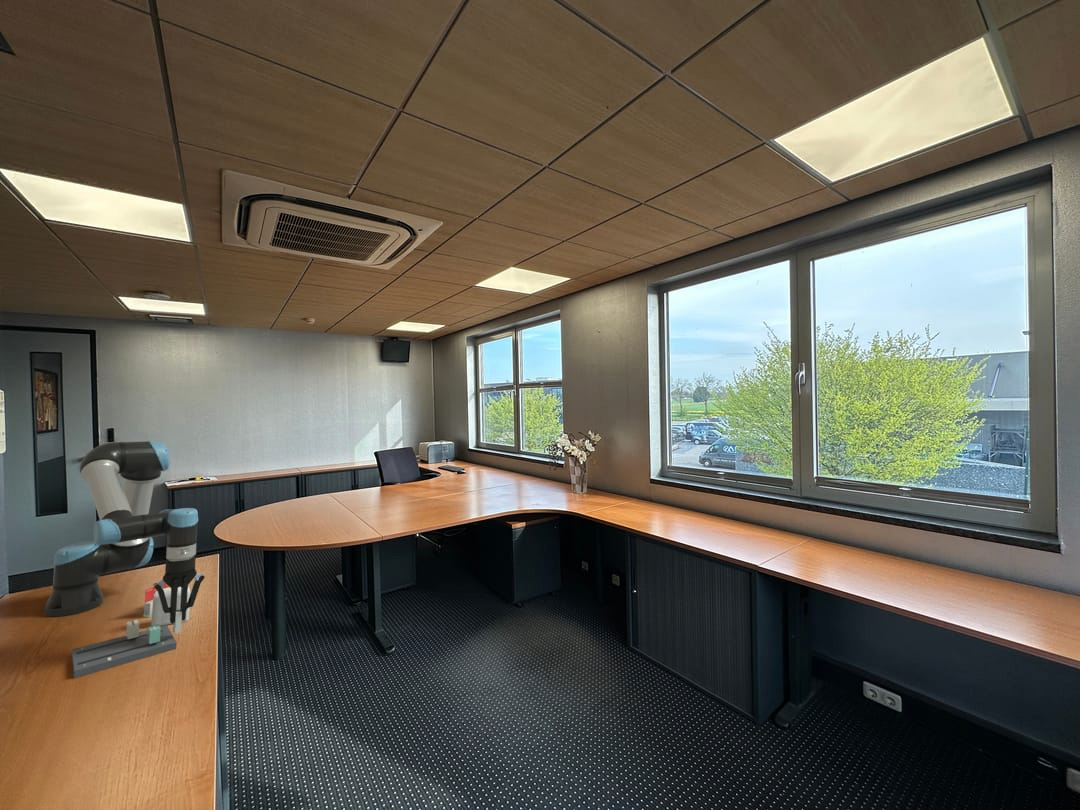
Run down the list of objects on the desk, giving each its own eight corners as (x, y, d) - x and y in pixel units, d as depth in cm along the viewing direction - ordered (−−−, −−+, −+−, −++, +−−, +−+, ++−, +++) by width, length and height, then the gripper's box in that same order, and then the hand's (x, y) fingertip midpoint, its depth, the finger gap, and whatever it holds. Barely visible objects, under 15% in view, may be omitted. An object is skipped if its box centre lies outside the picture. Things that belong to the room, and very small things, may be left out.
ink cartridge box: (175, 604, 168) (177, 579, 168) (149, 618, 157) (151, 590, 157) (169, 604, 168) (171, 578, 168) (142, 617, 157) (144, 590, 157)
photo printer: (189, 616, 159) (191, 582, 159) (188, 621, 155) (190, 586, 156) (152, 623, 153) (154, 587, 153) (150, 628, 150) (152, 592, 150)
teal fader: (147, 641, 137) (147, 626, 137) (157, 638, 139) (158, 623, 139) (149, 645, 134) (150, 630, 135) (159, 642, 136) (160, 627, 136)
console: (71, 656, 132) (72, 648, 132) (166, 630, 148) (167, 624, 148) (74, 678, 121) (74, 670, 121) (176, 648, 138) (176, 641, 138)
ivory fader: (126, 636, 139) (126, 621, 139) (136, 633, 141) (137, 619, 141) (127, 641, 137) (128, 626, 137) (138, 638, 139) (139, 623, 139)
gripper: (156, 565, 134) (152, 643, 134) (208, 556, 144) (204, 628, 143) (152, 559, 139) (148, 634, 139) (203, 550, 149) (199, 621, 148)
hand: (177, 631), depth 141 cm, fingers closed
